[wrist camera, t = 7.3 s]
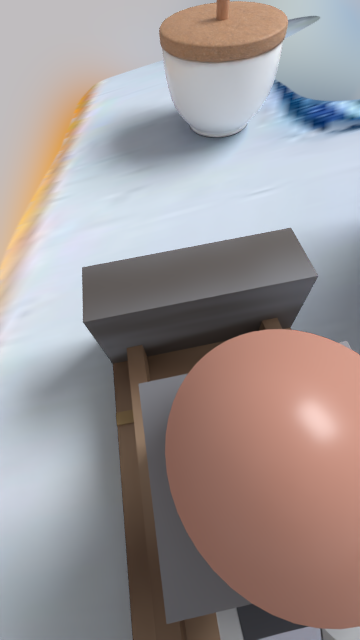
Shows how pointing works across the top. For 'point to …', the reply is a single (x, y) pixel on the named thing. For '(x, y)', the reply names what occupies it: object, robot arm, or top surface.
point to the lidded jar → (222, 62)
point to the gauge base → (180, 364)
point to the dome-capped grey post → (259, 479)
